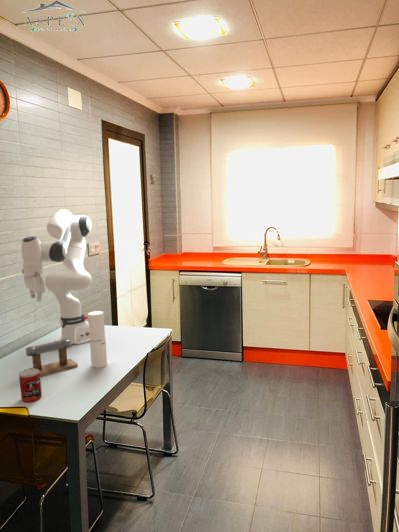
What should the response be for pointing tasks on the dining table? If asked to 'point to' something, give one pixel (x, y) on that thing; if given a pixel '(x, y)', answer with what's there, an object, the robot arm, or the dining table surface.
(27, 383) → the canned food
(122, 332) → the dining table surface
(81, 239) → the robot arm
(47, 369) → the spanner rest
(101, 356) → the cylindrical container
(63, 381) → the dining table surface
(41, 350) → the metal bar
